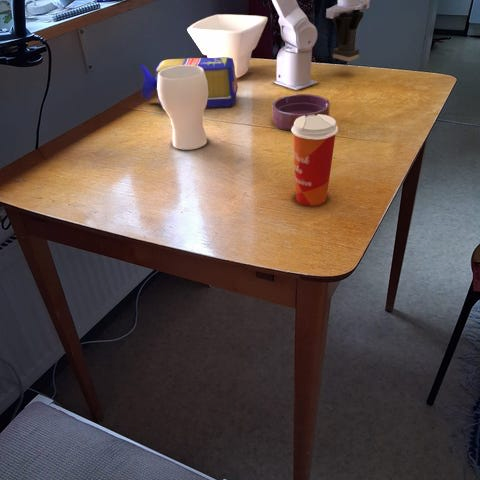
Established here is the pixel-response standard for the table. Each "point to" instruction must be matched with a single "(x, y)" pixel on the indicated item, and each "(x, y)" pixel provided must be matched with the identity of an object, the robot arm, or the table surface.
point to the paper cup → (313, 157)
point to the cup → (184, 103)
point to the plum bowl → (297, 109)
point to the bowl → (229, 37)
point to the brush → (347, 48)
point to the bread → (216, 73)
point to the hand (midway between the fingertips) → (345, 43)
